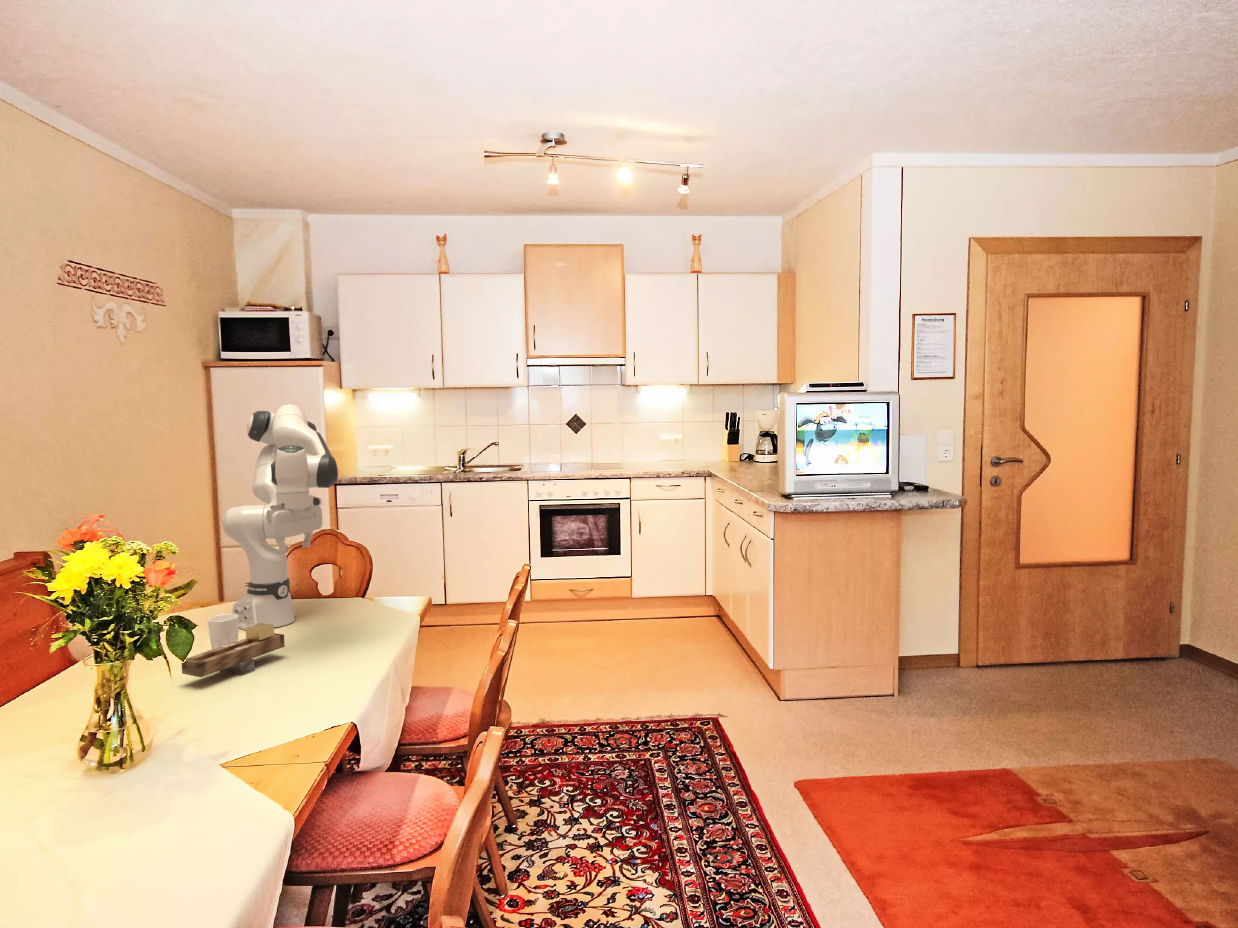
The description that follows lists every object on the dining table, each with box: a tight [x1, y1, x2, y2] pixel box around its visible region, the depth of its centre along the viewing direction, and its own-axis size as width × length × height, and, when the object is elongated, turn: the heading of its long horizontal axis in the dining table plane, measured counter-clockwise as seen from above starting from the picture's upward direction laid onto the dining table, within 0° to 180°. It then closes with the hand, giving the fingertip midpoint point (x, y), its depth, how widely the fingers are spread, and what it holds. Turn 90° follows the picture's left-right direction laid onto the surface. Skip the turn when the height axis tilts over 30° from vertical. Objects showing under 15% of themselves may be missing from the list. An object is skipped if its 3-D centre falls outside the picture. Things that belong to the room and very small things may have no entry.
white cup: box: [207, 613, 240, 650], centre depth 221 cm, size 8×8×10 cm
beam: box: [181, 632, 286, 678], centre depth 205 cm, size 26×9×7 cm, turn 156°
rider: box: [245, 623, 275, 643], centre depth 212 cm, size 5×5×5 cm
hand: (295, 549), depth 221 cm, fingers open, 8 cm apart
